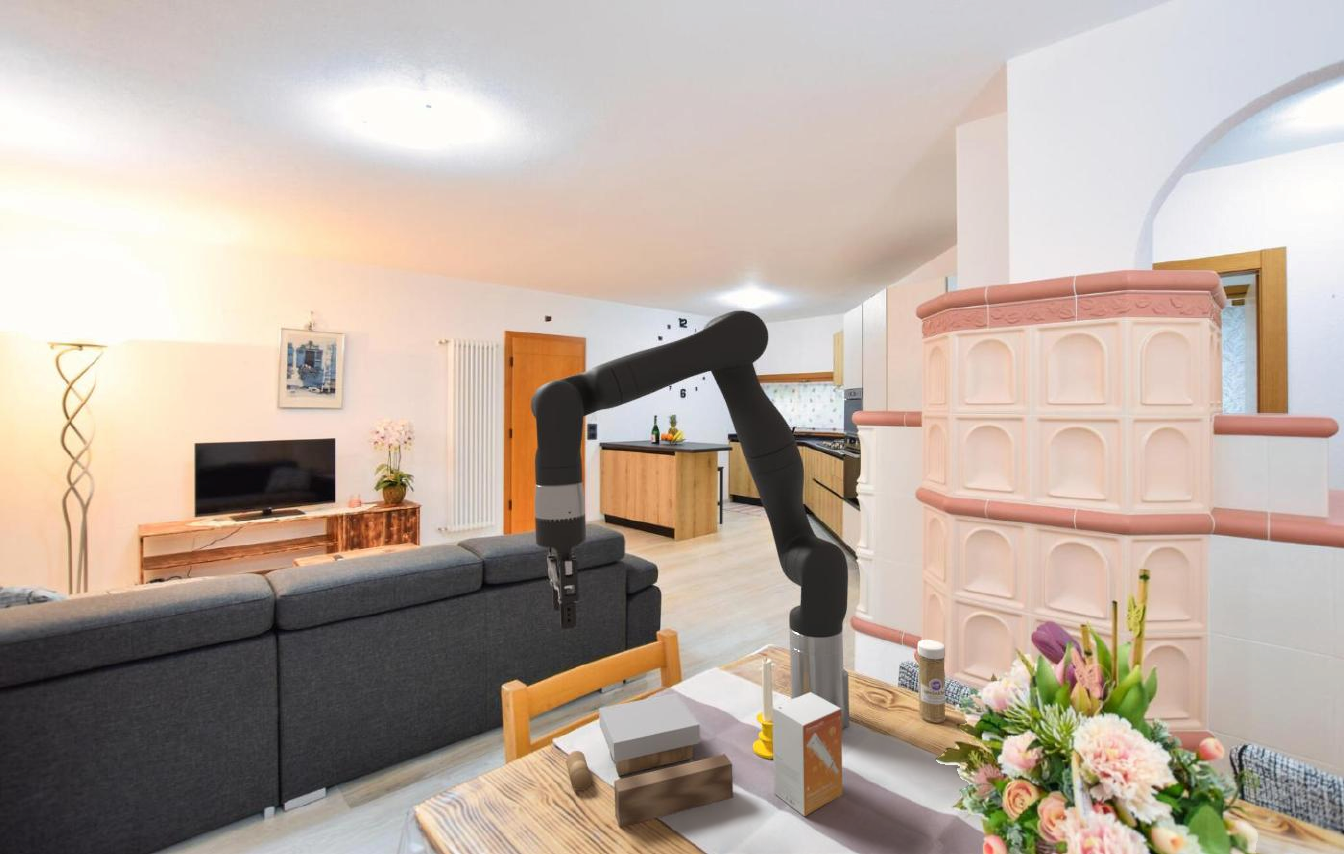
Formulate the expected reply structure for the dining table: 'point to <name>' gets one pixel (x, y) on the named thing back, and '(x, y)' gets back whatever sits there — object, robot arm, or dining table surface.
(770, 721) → the candle
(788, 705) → the small box
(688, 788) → the rail
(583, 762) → the roller
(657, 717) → the slab
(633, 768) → the roller
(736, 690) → the dining table surface
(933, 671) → the sprinkles bottle
